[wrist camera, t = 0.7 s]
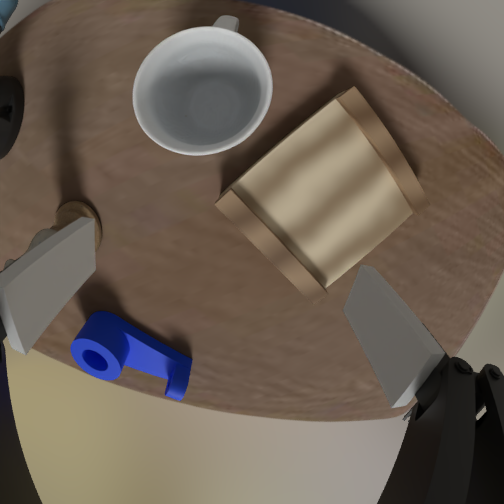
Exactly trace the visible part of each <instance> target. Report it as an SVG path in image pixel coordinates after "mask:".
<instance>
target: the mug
mask: <svg viewBox="0 0 504 504" xmlns="http://www.w3.org/2000/svg"><path fill="white" fill-rule="evenodd" d="M238 27H239V20H238V18H236V17H233V16H229V15H223V16H220V17H219V18H218V19H217V20H216V22H215V23H214V24H213V26H203V27H195V28H190V29H186V30H183V31H180V32H178V33H176V34H174V35H172V36H170V37H168V38H166V39H165V40H163V41H162V42H161V43H159V44H158V45H157V46H156V47H155V48H154V49H153V50H152V51H151V52H150V53H149V54H148V55H147V57H146V58H145V59H144V61H143V62H142V64H141V66H140V68H139V70H138V72H137V75H136V78H135V81H134V86H133V106H134V111H135V115H136V118H137V120H138V122H139V124H140V126H141V127H142V129H143V130H144V132H145V133H146V134H147V135H148V136H149V137H150V138H151V139H152V140H153V141H155V142H156V143H157V144H159V145H160V146H162V147H164V148H166V149H168V150H171V151H173V152H176V153H180V154H186V155H208V154H213V153H218V152H221V151H225V150H227V149H230V148H232V147H234V146H236V145H237V144H239V143H241V142H242V141H244V140H245V139H246V138H247V137H248V136H250V135H251V134H252V133H253V132H254V131H255V129H256V128H257V127H258V126H259V125H260V123H261V122H262V120H263V118H264V117H265V115H266V113H267V111H268V108H269V105H270V102H271V98H272V91H273V82H272V75H271V71H270V68H269V65H268V62H267V60H266V59H265V57H264V55H263V54H262V52H261V51H260V50H259V49H258V48H257V47H256V45H254V44H253V43H252V42H251V41H250V40H249V39H247V38H246V37H244V36H243V35H241V34H239V33H237V32H238Z"/></svg>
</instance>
